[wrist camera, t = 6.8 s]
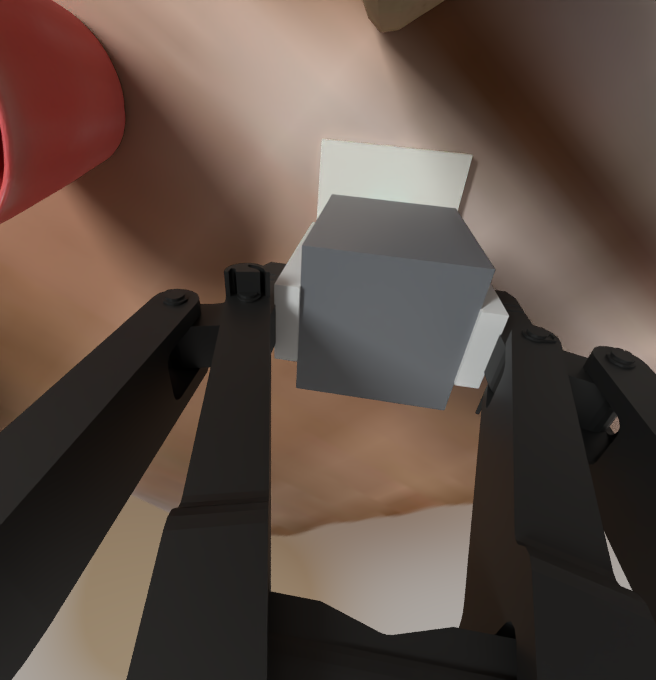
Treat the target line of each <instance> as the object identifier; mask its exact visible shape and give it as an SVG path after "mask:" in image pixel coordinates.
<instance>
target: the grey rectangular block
mask: <svg viewBox="0 0 656 680" xmlns="http://www.w3.org/2000/svg"><path fill="white" fill-rule="evenodd" d="M494 272H495V268H494V267H493V265H492V263H491V262H490V260H489V259H488V257H487V256H486V254H485V253H484V251H483V250H482V248H481V246H480V245H479V243H478V242H477V240H476V239H475V237H474V236H473V234H472V233H471V231H470V229H469V228H468V226H467V225H466V223H465V222H464V220H463V219H462V217H461V216H460V214H459V212H458V211H457V209H456V208H449V207H440V206H432V205H423V204H414V203H406V202H397V201H388V200H379V199H371V198H362V197H353V196H345V195H336V194H332V195H331V197H330V198H329V200H328V202H327V204H326V205H325V207H324V209H323V210H322V212H321V214H320V215H319V217H318V219H317V221H316V222H315V224H314V226H313V227H312V229H311V231H310V232H309V234H308V236H307V238H306V239H305V241H304V243H303V244H302V257H301V282H300V285H301V291H300V316H299V340H298V359H297V381H296V388H301V389H307V390H314V391H320V392H327V393H333V394H340V395H346V396H353V397H360V398H366V399H373V400H379V401H386V402H392V403H399V404H405V405H412V406H419V407H425V408H432V409H438V410H445V407H446V404H447V401H448V399H449V396H450V393H451V390H452V388H453V385H454V381H455V378H456V375H457V372H458V370H459V367H460V364H461V361H462V359H463V356H464V353H465V350H466V347H467V345H468V342H469V339H470V336H471V334H472V331H473V328H474V325H475V323H476V320H477V317H478V314H479V312H480V309H481V308H482V305H483V302H484V300H485V297H486V294H487V291H488V289H489V286H490V283H491V280H492V278H493V275H494Z"/></svg>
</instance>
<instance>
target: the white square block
mask: <svg viewBox="0 0 656 680" xmlns="http://www.w3.org/2000/svg"><path fill="white" fill-rule="evenodd" d="M472 157H473V155H471V154H466V153H456V152H447V151H437V150H428V149H418V148H409V147H399V146H390V145H380V144H371V143H361V142H352V141H342V140H333V139H322V145H321V161H320V177H319V194H318V210H317V219H318V217H319V215H320V214H321V212H322V210H323V209H324V207H325V205H326V204H327V202H328V200H329V198H330V197H331V195H332V194H336V195H345V196H353V197H362V198H371V199H379V200H388V201H397V202H406V203H414V204H423V205H432V206H440V207H449V208H456V209H457V211H458V208H459V204H460V201H461V197H462V193H463V190H464V186H465V182H466V179H467V175H468V171H469V168H470V164H471V160H472Z"/></svg>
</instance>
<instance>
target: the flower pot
mask: <svg viewBox="0 0 656 680" xmlns="http://www.w3.org/2000/svg"><path fill="white" fill-rule="evenodd" d="M124 128H125V110H124V97H123V91H122V88H121V84H120V81H119V78H118V76H117V73H116V71H115V69H114V66H113V64H112V62H111V60H110V58H109V56H108V55H107V53H106V51H105V50H104V48H103V47H102V45H101V44H100V42H99V41H98V40H97V38H96V37H95V36H94V35H93V34H92V32H91V31H90V30H89V29H88V28H87V27H86V26H85V25H84V24H83V23H82V22H81V21H80V20H79V19H78V18H77V17H75V16H74V15H73V14H72V13H70V12H69V11H68V10H66V9H65V8H63V7H62V6H60V5H59V4H57V3H55V2H54V1H52V0H0V224H1V223H3V222H5V221H7V220H9V219H10V218H12V217H14V216H16V215H17V214H19V213H21V212H23V211H24V210H26V209H28V208H29V207H31V206H33V205H34V204H36V203H38V202H40V201H41V200H43V199H45V198H46V197H48V196H50V195H51V194H53V193H55V192H57V191H58V190H60V189H62V188H63V187H65V186H66V185H68V184H70V183H71V182H73V181H75V180H76V179H78V178H79V177H81V176H82V175H84V174H85V173H87V172H88V171H90V170H91V169H93V168H94V167H96V166H97V165H99V164H101V163H102V162H104V161H105V160H107V159H108V158H109V157H110V156H111V155H112V154H113V153H114V152H115V151H116V149H117V148H118V146H119V144H120V142H121V140H122V137H123V133H124Z"/></svg>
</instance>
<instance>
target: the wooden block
mask: <svg viewBox="0 0 656 680" xmlns="http://www.w3.org/2000/svg"><path fill="white" fill-rule="evenodd" d="M443 1H445V0H363V3H364V6H365V9H366V12H367V15H368V18H369V19H370V21H371V22H372V23H373V24H374V25H375V26H376V28H377V29H378V30H379V31H380V32H389V31H397V30H399V29H401V28H402V27H404V26H406V25H407V24H409V23H410V22H412V21H413V20H415V19H416V18H418V17H420V16H421V15H423V14H424V13H426V12H427V11H429V10H431V9H432V8H434V7H435V6H437V5H438V4H440V3H441V2H443Z"/></svg>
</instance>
